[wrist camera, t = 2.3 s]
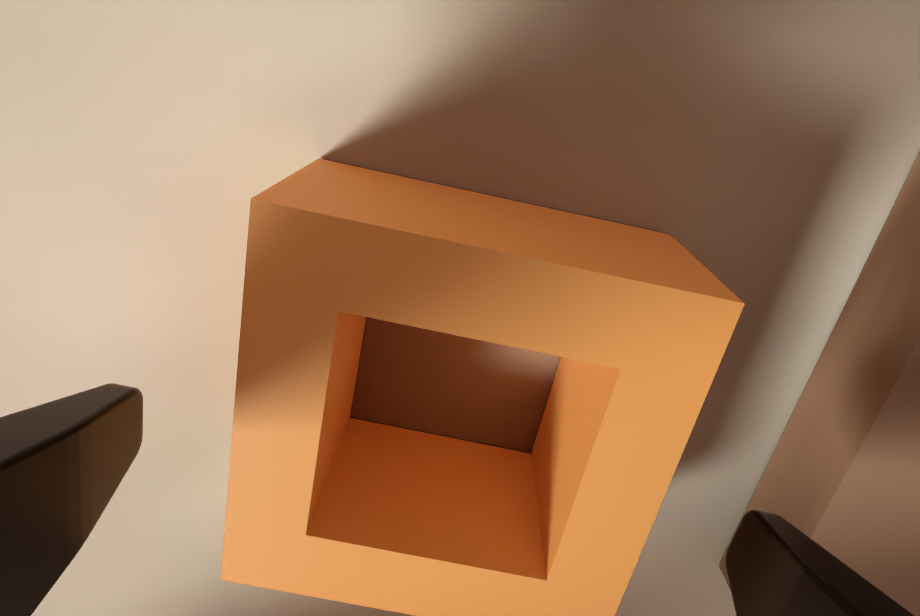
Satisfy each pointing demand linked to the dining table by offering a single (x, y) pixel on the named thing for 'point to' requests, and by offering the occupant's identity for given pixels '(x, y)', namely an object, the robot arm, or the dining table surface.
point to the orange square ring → (448, 459)
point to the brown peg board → (863, 422)
